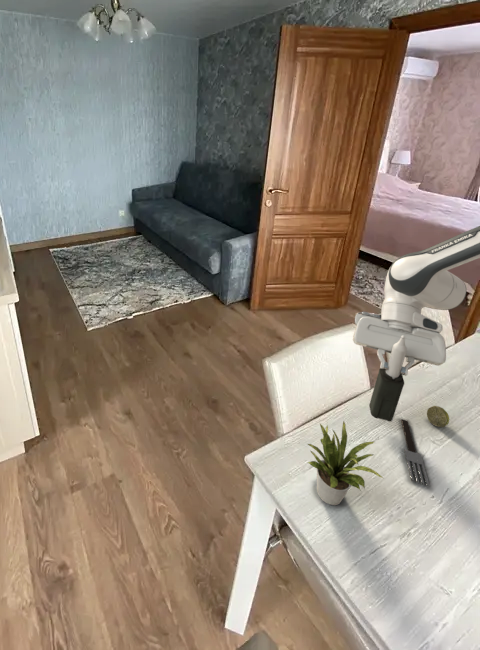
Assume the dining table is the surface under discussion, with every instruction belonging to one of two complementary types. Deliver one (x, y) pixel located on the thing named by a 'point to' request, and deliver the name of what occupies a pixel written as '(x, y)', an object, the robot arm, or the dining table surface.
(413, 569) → the dining table surface
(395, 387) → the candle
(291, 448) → the dining table surface
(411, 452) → the fork
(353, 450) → the house plant
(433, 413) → the lime
